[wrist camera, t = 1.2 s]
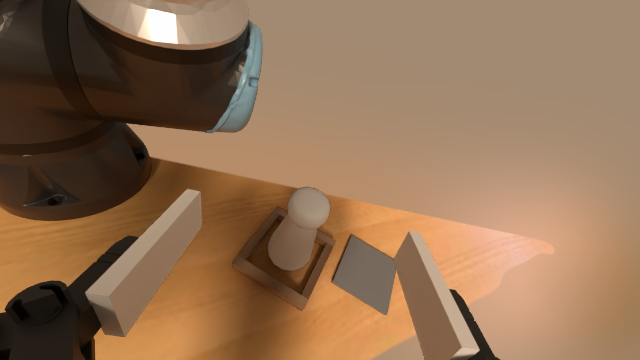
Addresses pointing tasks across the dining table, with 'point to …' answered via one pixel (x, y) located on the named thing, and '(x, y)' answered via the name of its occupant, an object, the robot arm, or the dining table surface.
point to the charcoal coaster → (366, 274)
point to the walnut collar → (270, 282)
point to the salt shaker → (299, 229)
